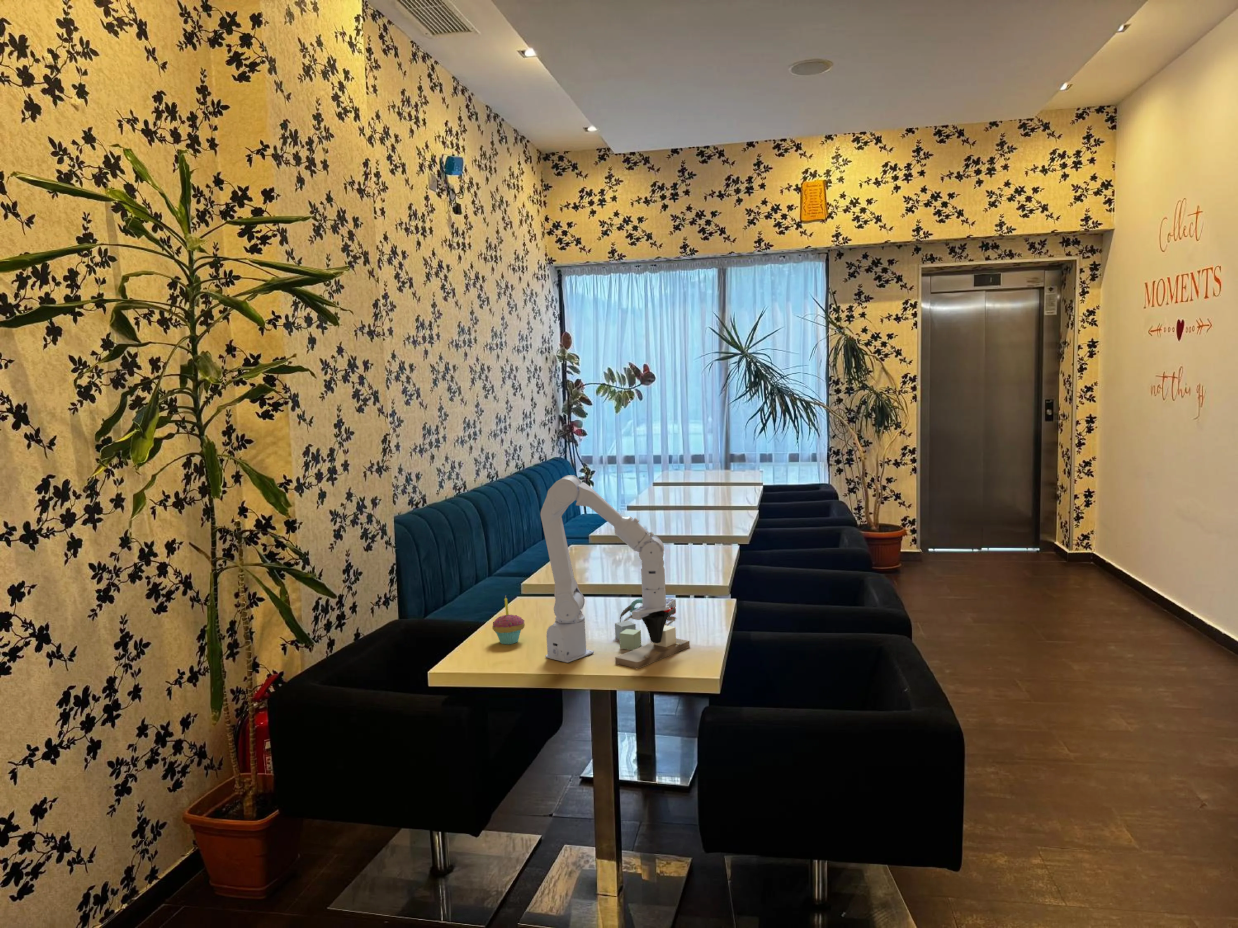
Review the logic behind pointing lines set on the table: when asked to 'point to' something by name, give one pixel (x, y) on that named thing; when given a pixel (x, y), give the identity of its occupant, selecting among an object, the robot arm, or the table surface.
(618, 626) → the slate blue block
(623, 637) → the sage block
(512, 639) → the cupcake
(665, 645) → the slider
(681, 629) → the table surface
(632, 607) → the novelty glasses
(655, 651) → the board
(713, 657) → the table surface
